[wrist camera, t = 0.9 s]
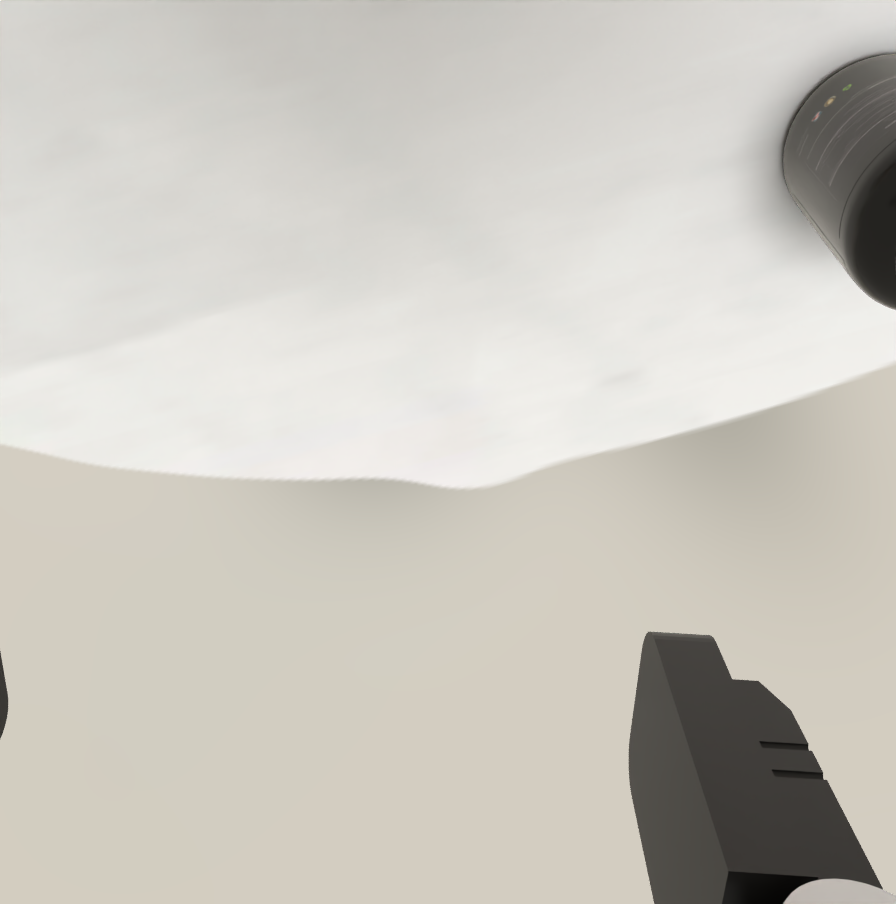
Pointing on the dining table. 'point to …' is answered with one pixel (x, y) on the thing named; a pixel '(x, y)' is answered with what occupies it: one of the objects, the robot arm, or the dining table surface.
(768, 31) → the dining table surface
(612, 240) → the dining table surface
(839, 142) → the supplement bottle
